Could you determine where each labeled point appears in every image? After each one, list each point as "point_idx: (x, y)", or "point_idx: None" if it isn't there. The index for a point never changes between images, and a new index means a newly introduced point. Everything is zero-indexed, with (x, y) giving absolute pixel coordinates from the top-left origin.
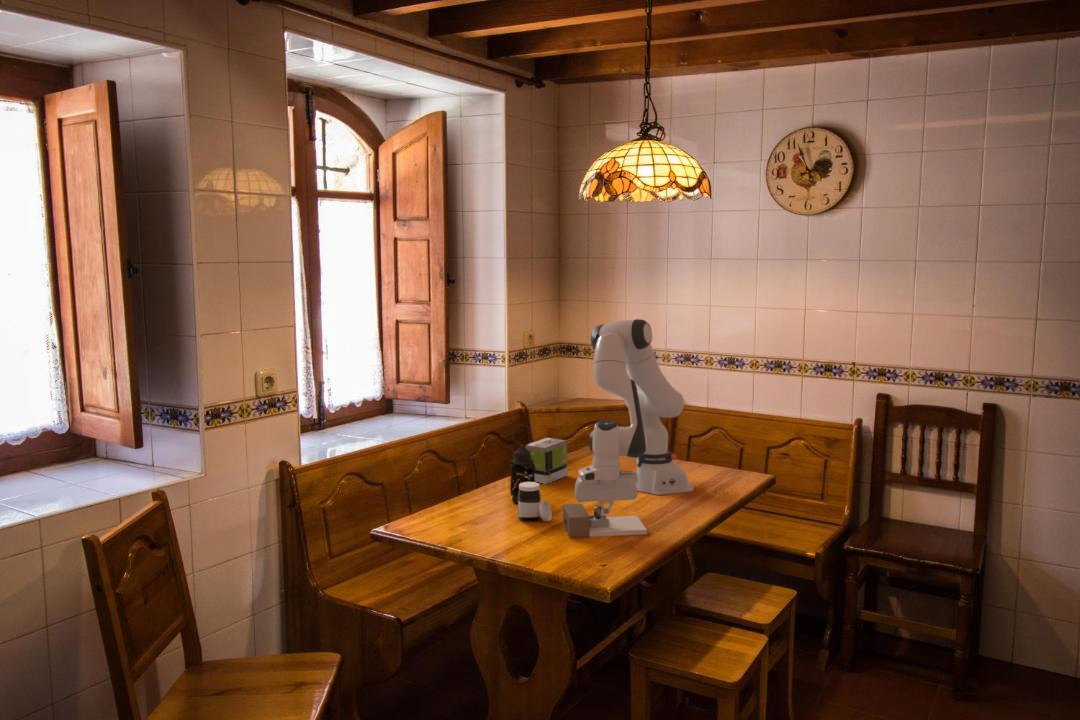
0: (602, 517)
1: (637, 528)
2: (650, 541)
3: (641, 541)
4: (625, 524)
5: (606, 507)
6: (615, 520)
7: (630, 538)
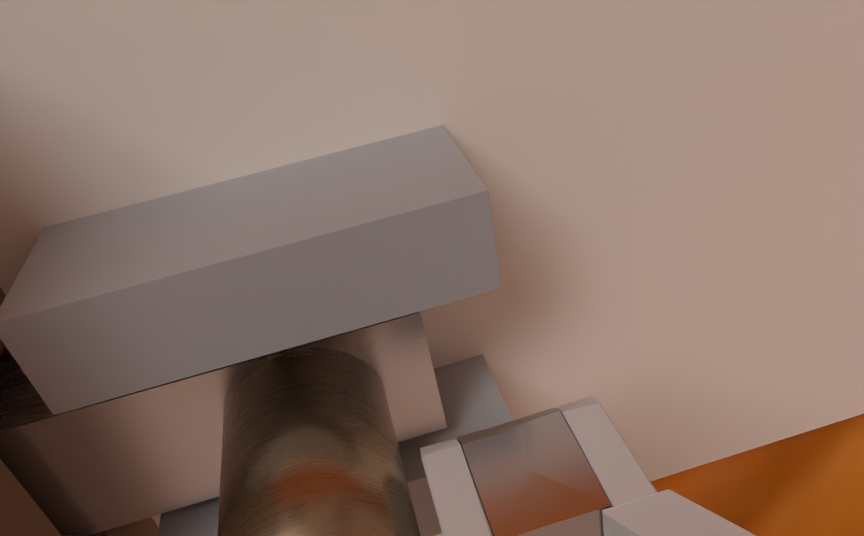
0: (408, 319)
1: (859, 372)
2: (841, 503)
3: (764, 522)
4: (763, 252)
5: (588, 527)
6: (652, 61)
7: (686, 486)
